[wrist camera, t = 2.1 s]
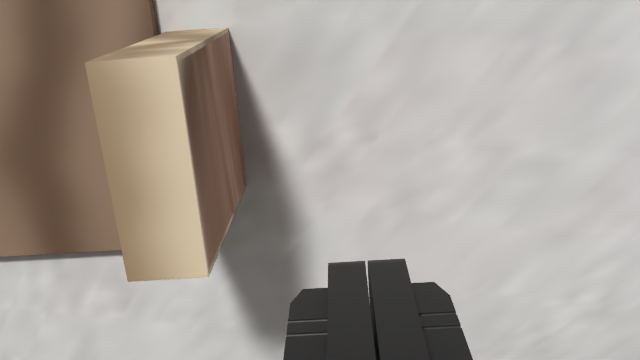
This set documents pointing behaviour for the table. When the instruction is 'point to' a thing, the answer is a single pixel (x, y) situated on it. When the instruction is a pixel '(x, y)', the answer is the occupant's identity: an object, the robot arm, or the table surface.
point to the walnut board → (58, 122)
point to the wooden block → (170, 149)
